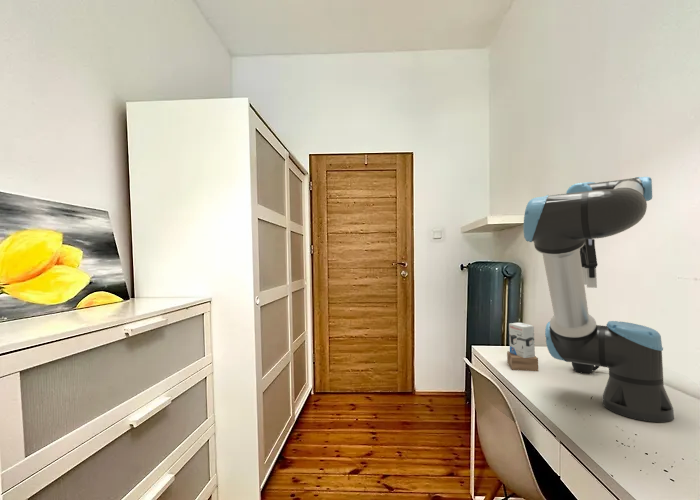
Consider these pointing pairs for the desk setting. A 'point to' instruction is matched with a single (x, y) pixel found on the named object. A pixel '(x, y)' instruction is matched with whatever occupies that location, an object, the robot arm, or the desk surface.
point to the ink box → (522, 340)
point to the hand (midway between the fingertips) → (588, 286)
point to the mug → (584, 368)
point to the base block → (522, 362)
